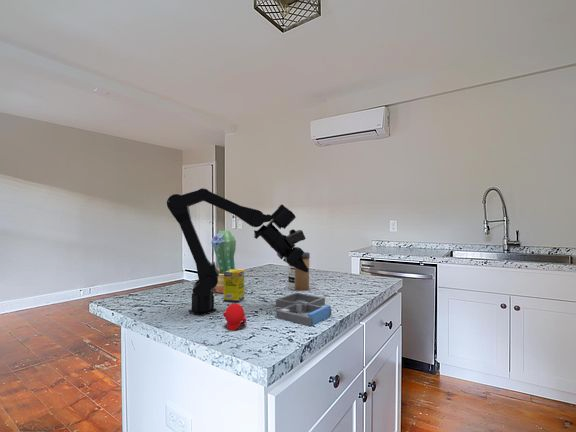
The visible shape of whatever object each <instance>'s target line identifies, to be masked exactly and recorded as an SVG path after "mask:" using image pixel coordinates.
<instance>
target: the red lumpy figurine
mask: <svg viewBox="0 0 576 432" xmlns="http://www.w3.org/2000/svg"><path fill="white" fill-rule="evenodd" d="M223 317H224V318H225V321H226V328H227V329H228V331H231V332H232V331H233V332H235V331H236V330H237V329H238V328H239V327H240V325H242V326H244V325H246V323H247V317H246V313H245V309H244V308H243V306H242V305H241V304H239V303H237V302H233V303H231V304H230V305H228V306H227V308H226V310H225V311H224V313H223Z"/></svg>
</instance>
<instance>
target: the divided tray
mask: <svg viewBox="0 0 576 432" xmlns="http://www.w3.org/2000/svg"><path fill="white" fill-rule="evenodd" d="M297 300H298V301H297ZM301 301H303V302H301ZM323 304H324V305H323ZM275 306H276V307H281V308H280V309H279V308H278V309H276V311H275V318H276V319H280V320H284V321H289V322H292V323H295V324H300V325H304V326H307V327H312V326H313V325H315V324H317V323H319V322H321V321H324V320H325V319H328V318H329V317H331V316H332V308H331V305H330V304H326V298H325V297H322V296H318V295H312V294H307V293H301V292H294V293H291V294H288V295H285V296H282V297H279V298H276V299H275ZM296 312H298V313H296ZM301 312H303V313H307V312H308V314H307V315H303V314H299V313H301Z"/></svg>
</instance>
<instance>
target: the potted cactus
mask: <svg viewBox="0 0 576 432" xmlns="http://www.w3.org/2000/svg"><path fill="white" fill-rule="evenodd" d="M236 243H237V240H236V237H235V235H233V233H232V231H230V230H219V232H218V233H216V234H215V235H214V236H213V237H212V238H211V249H213V252H214V253H215V255H216V258H217V264H218V268H216V269H217V270H218V271H219V276H218V283H217V285H216V286H215V292H216V293H221V294H224V272H226V271H228V270H230V269H233V270H243V269H242V268H235V267H236V265H235V254H236V253H235V252H236V245H237V244H236Z"/></svg>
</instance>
